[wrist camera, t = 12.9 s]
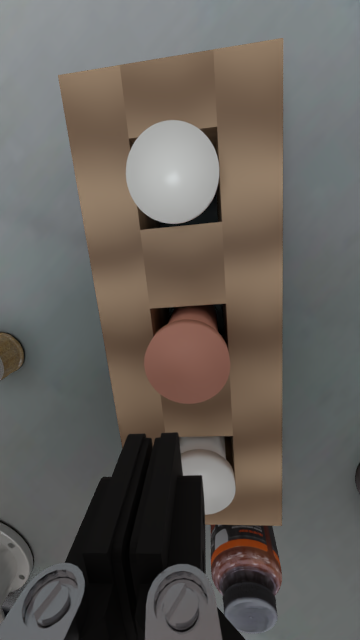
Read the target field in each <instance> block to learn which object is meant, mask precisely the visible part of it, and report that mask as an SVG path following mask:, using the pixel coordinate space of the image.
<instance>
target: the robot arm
mask: <svg viewBox="0 0 360 640" xmlns="http://www.w3.org/2000/svg"><path fill="white" fill-rule="evenodd" d="M32 568H33V557H32V554H31V551H30V549H29V547H28V545H27V544H26V542H25V541H24V540H23V539H22V537H21V536H20V535H19V534H17V533H16V532H15V531H14V530H12V529H11V528H10V527H8V526H6V525H4V524H3V523H1V522H0V624H1V623H2V624H1V625H0V640H245V639H244V637H243V636H242V635H241V634H240V633H239V632H238V631H237V629H236V628H235V627H234V626H233V625H232V624H231V622H230V621H229V620H228V619H227V618H226V617H225V616H224V614H223V613H222V612H221V611H220V610H219V609H218V608H217V605H216V599H215V594H214V590H213V587H212V584H211V582H210V581H209V579H208V578H207V576H206V569H205V505H204V491H203V480H202V475H187V476H183V471H182V462H181V452H180V443H179V435H178V432H172V433H161V437H159V438H155V440H154V445H153V444H152V439H151V438H146V434H145V433H142V434H128V436H127V438H126V441H125V443H124V446H123V449H122V451H121V454H120V456H119V459H118V462H117V464H116V467H115V469H114V472H113V475H112V477H103V478H102V479H101V480H100V482H99V484H98V486H97V489H96V491H95V493H94V496H93V498H92V500H91V503H90V505H89V507H88V510H87V512H86V514H85V517H84V519H83V521H82V524H81V526H80V528H79V531H78V533H77V535H76V538H75V540H74V543H73V545H72V547H71V550H70V552H69V554H68V557H67V559H66V561H65V563H59V564H55V565H52V566H50V567H48V568H46V569H45V570H43V571H41V572H40V573H39V574H37V575H36V576H35V577H34V578H33V579H32V580H31V581H30V582H29V583H28V585H27V586H26V587H25V588H24V590H23V591H22V593H21V594H20V596H19V597H18V599H17V600H16V602H15V603H14V605H13V607H12V608H11V610H10V611H9V613H8V614H7V616H6V618H5V619H4V613H3V610H2V608H1V607H2V605H3V603H4V601H5V599H6V598H7V596H8V594H9V593H10V592H13V591H15V590H18V589H19V588H21V587H22V586H23V585H24V584H25V583H26V581H27V580H28V578H29V576H30V574H31V572H32ZM3 620H4V621H3ZM2 621H3V622H2Z"/></svg>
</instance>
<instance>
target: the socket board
mask: <svg viewBox="0 0 360 640" xmlns="http://www.w3.org/2000/svg"><path fill="white" fill-rule="evenodd" d="M58 78H59V84H60V90H61V95H62V101H63V107H64V113H65V119H66V124H67V130H68V136H69V142H70V147H71V153H72V159H73V165H74V171H75V176H76V182H77V188H78V194H79V200H80V205H81V211H82V217H83V223H84V228H85V234H86V240H87V246H88V252H89V257H90V263H91V269H92V275H93V281H94V286H95V292H96V298H97V304H98V309H99V315H100V321H101V327H102V333H103V338H104V344H105V350H106V356H107V361H108V367H109V373H110V379H111V385H112V390H113V396H114V402H115V408H116V414H117V419H118V425H119V431H120V437H121V442H122V448H123V446H124V443H125V441H126V438H127V436H128V434H142V433H145V434H146V438H151V439H152V444H153V445H154V440H155V438H159V437H161V433H172V432H178V435H179V442H180V437H205V436H224V439H225V452H226V460H227V461H228V462H229V464H230V465H231V467H232V469H233V472H234V478H235V496H234V498H233V500H232V502H231V503H230V504H229V505H228V506H227V507H226V508H225V509H223V510H221V511H219V512H217V513H214V514H208V515H205V524H207V525H268V526H282V290H283V38H280V39H274V40H268V41H262V42H256V43H250V44H244V45H238V46H232V47H226V48H220V49H214V50H208V51H202V52H196V53H190V54H184V55H178V56H172V57H166V58H160V59H153V60H147V61H141V62H135V63H129V64H123V65H117V66H111V67H105V68H99V69H93V70H87V71H81V72H75V73H69V74H63V75H58ZM167 120H179V121H184V122H187V123H189V124H192V125H194V126H195V127H197V128H198V129H200V130H201V131H202V132H203V133H204V134H205V135H206V136H207V137H208V138H209V140H210V141H211V143H212V145H213V147H214V148H215V151H216V154H217V157H218V162H219V181H218V186H217V190H216V194H217V213H218V222H215V223H205V224H195V225H185V226H175V227H165V228H160V222H159V221H157V220H154V219H152V218H151V217H149V216H147V215H146V214H145V213H143V212H142V211H141V210H140V209H139V207H138V206H137V205H136V204H135V202H134V200H133V199H132V197H131V194H130V192H129V189H128V186H127V181H126V164H127V159H128V155H129V152H130V150H131V148H132V146H133V144H134V142H135V141H136V139H137V138H138V137H139V136H140V135H141V134H142V133H143V132H144V131H145V130H146V129H147V128H149V127H150V126H152V125H154V124H156V123H159V122H162V121H167ZM211 304H223V323H224V335H223V336H222V337H223V339H224V341H225V343H226V345H227V348H228V351H229V357H230V374H229V377H228V380H227V382H226V384H225V385H224V387H223V388H222V389H221V391H220V392H219V393H217V394H216V395H215V396H213V397H212V398H210V399H208V400H206V401H203V402H200V403H194V404H183V403H178V402H174V401H171V400H169V399H167V398H165V397H164V396H162V395H161V394H159V393H158V392H157V391H156V390H155V389H154V388H153V387H152V385H151V384H150V382H149V380H148V378H147V376H146V373H145V368H144V357H145V353H146V350H147V347H148V345H149V344H150V342H151V340H152V338H153V336H154V335H155V334H156V333H157V332H158V331H159V330H160V329H161V328H162V327H163V326H165V325H167V324H168V322H169V320H170V317H169V307H182V306H197V305H211Z"/></svg>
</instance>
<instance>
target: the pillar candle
mask: <svg viewBox="0 0 360 640" xmlns="http://www.w3.org/2000/svg"><path fill="white" fill-rule="evenodd" d="M355 477H356V480H355V481H356V486H357V489H358V491H359V493H360V464H359V467H358V468H357V471H356V476H355Z"/></svg>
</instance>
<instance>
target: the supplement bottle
mask: <svg viewBox="0 0 360 640" xmlns="http://www.w3.org/2000/svg"><path fill="white" fill-rule="evenodd" d="M211 572H212V579H213V582H214V584H215V586H216V588H217V589H218V591H219V592H220V593H221V594H222V595H223V602H224V615H225V617H226V618H227V619H228V620H229V621H230V622H231V624H232V625H233V626H234V627H235V628H236V629H237V630H238V631H241V632H244V633H262V632H265V631H267V630H269V629H271V628H272V627H273V626H274V625H275V623H276V622H277V610H276V600H275V595H276V593H277V592H278V591H279V589H280V586H281V582H282V572H281V566H280V561H279V556H278V551H277V546H276V542H275V537H274V532H273V527H272V526H268V525H211Z"/></svg>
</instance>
